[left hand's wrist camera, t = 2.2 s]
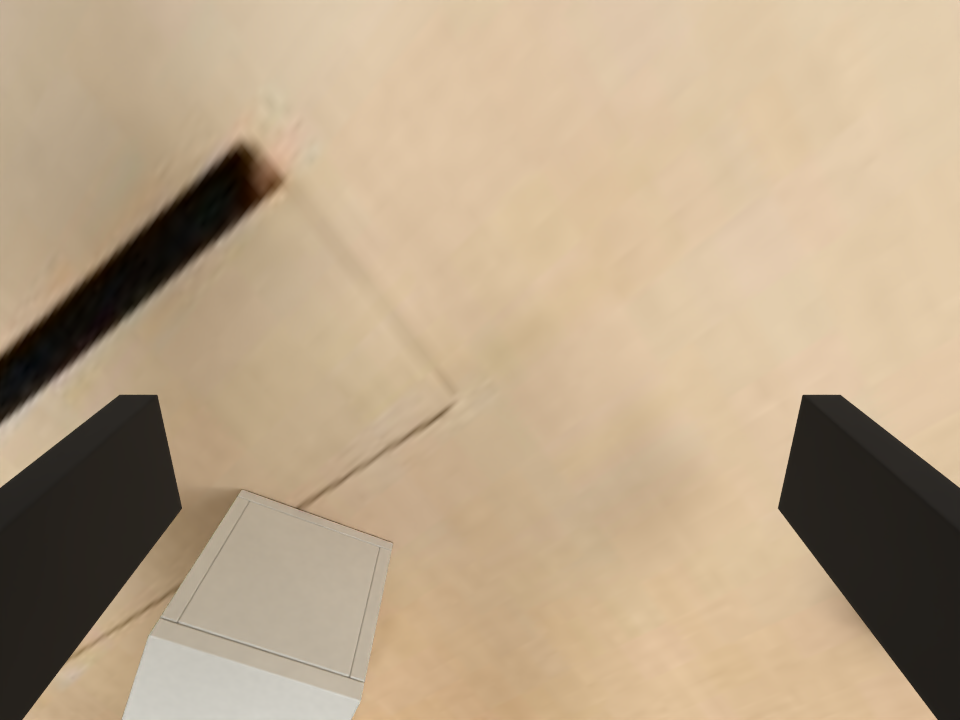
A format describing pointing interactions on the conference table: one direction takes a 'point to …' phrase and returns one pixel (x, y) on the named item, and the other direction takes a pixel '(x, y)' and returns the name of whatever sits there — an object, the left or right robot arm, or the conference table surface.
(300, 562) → the chest
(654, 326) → the conference table surface
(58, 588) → the left robot arm
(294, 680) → the lid
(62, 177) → the conference table surface
